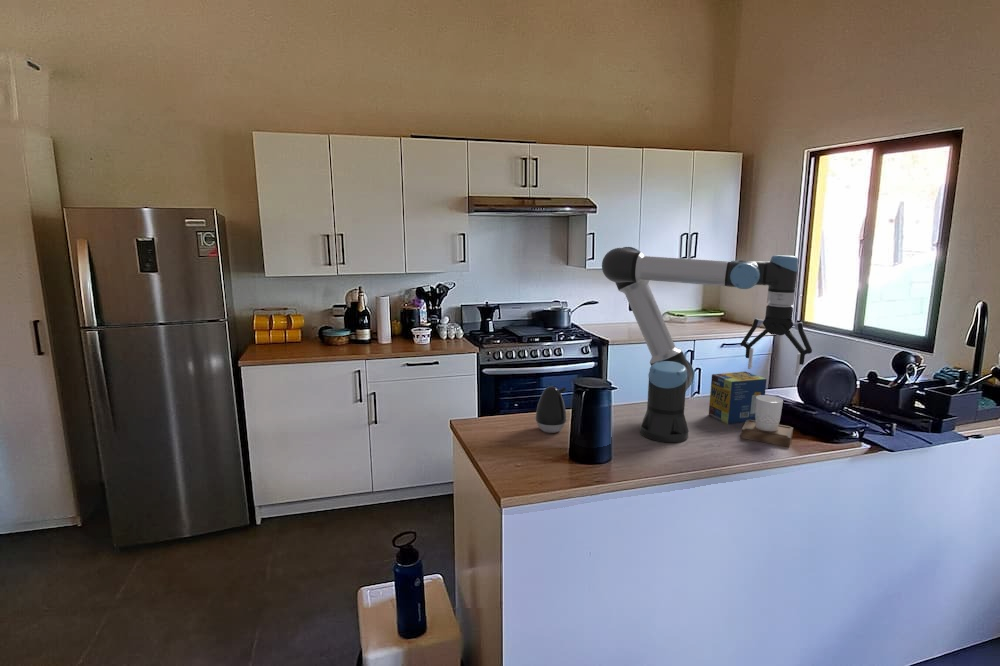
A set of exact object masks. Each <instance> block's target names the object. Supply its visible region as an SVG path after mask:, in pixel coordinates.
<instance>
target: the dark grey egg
mask: <svg viewBox="0 0 1000 666" xmlns="http://www.w3.org/2000/svg"><path fill="white" fill-rule="evenodd" d="M566 390H567V388H566V387H562V388H560V389H558V388H557V387H555V386H552V385H550V386H547V387H545V388H544V390H543V391H542V393H541V396H540V398H539V400H538V403H537V406H536V411H535V421H536V424H537V427H538V428H539V429H540V430H541V431H542V432H544V433H548V434H554V433H558V432H560V431H562V430H563V428H564V427H565V426H566V425H565V424H566V422H567V412H566V406H565V401H564V399H563V396H562V393H564V392H566Z"/></svg>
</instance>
